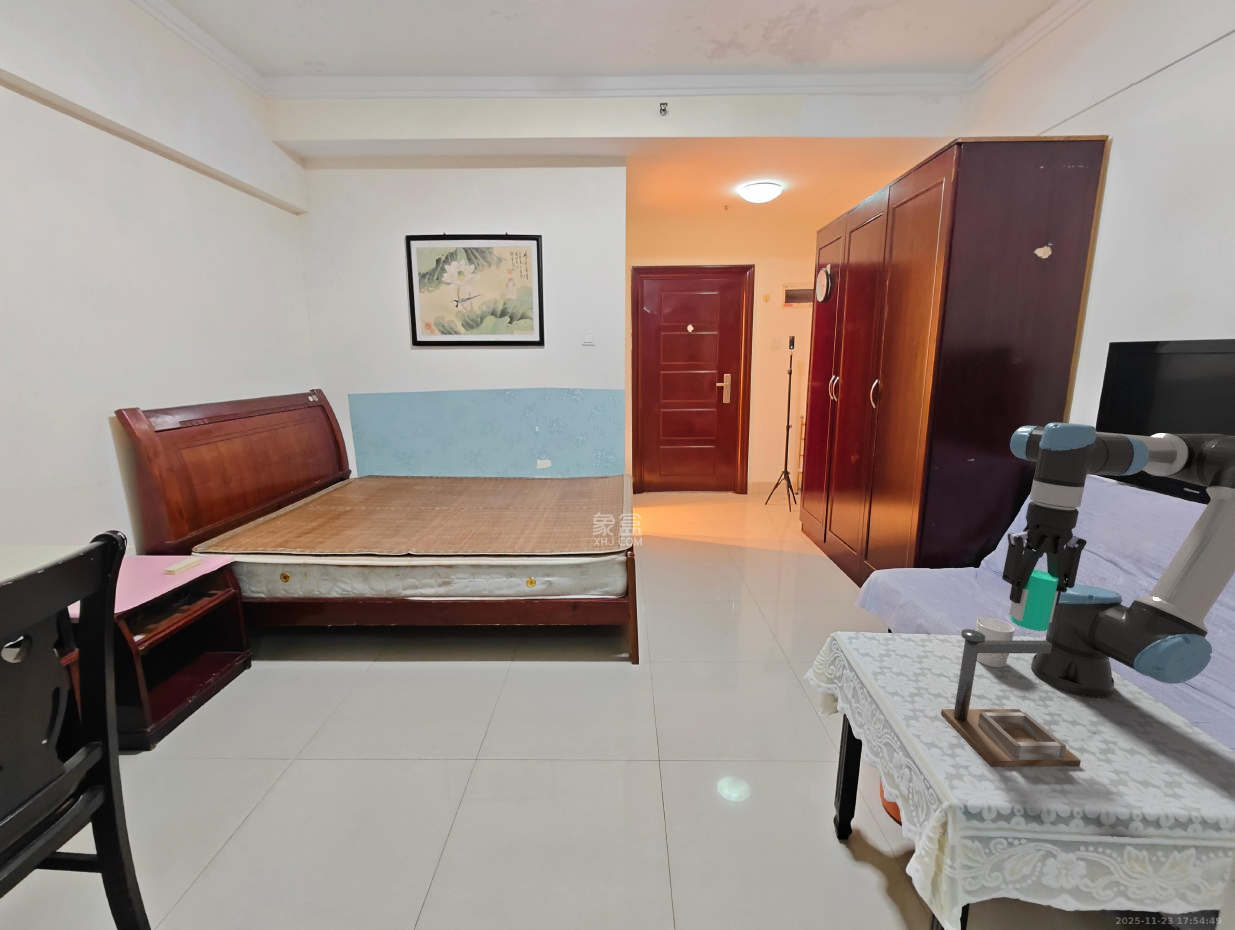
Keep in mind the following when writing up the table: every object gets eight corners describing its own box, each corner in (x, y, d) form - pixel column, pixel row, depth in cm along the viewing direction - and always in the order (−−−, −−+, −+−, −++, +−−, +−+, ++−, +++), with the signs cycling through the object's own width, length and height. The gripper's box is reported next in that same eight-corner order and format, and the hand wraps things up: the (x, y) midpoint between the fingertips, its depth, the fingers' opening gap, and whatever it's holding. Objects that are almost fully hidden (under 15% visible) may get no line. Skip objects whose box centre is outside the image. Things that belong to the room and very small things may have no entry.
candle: (1022, 629, 103) (1034, 571, 101) (1003, 615, 109) (1014, 559, 106) (1055, 632, 102) (1068, 573, 100) (1034, 618, 108) (1046, 562, 106)
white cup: (1015, 671, 131) (1021, 633, 129) (979, 667, 132) (985, 630, 130) (999, 654, 138) (1005, 618, 136) (965, 650, 140) (971, 615, 138)
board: (1018, 714, 114) (1021, 696, 114) (1079, 766, 100) (1083, 746, 99) (940, 714, 114) (943, 696, 113) (991, 766, 99) (994, 746, 98)
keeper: (1027, 710, 113) (1042, 629, 110) (1042, 723, 109) (1059, 639, 106) (944, 710, 113) (957, 629, 109) (957, 723, 109) (970, 639, 105)
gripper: (1084, 502, 104) (1060, 612, 109) (992, 497, 105) (972, 607, 109) (1119, 512, 97) (1091, 630, 101) (1020, 507, 97) (997, 625, 101)
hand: (1030, 618), depth 105 cm, fingers closed on candle, 5 cm apart
